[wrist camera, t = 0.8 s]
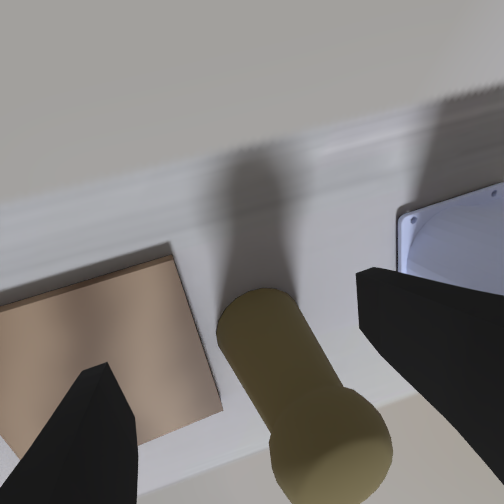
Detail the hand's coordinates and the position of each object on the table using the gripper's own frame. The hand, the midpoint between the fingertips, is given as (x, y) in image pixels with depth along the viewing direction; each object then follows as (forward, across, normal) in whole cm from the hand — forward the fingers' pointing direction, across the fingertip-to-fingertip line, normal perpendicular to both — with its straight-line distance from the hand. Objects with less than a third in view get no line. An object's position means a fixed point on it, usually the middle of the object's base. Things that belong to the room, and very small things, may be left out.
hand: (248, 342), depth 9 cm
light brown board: (+10, +8, +7) cm, 15 cm away
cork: (+11, -2, +8) cm, 13 cm away
